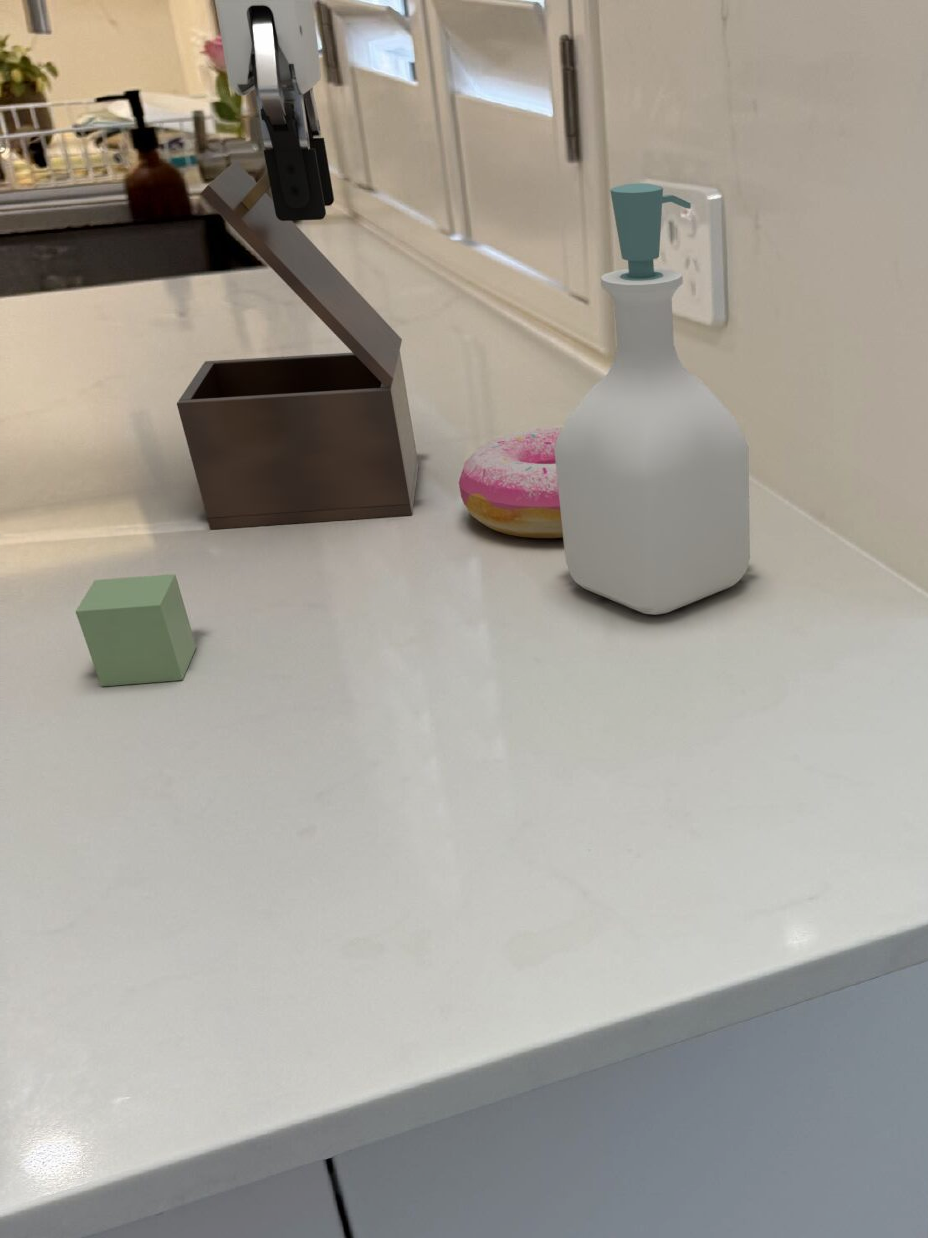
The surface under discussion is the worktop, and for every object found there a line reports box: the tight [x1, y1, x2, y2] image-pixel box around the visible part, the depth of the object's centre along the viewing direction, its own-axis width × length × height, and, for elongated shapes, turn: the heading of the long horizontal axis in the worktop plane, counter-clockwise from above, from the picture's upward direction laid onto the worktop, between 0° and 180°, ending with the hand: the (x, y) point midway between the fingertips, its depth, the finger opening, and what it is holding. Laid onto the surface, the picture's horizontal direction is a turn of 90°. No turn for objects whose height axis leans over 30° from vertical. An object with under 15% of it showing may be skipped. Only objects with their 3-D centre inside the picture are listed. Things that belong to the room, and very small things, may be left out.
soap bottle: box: [555, 182, 751, 616], centre depth 79 cm, size 10×10×23 cm
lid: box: [200, 160, 403, 387], centre depth 91 cm, size 15×12×6 cm
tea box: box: [176, 350, 420, 530], centre depth 99 cm, size 15×12×9 cm
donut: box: [458, 426, 563, 539], centre depth 95 cm, size 14×13×5 cm
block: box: [75, 573, 197, 687], centre depth 77 cm, size 5×5×5 cm
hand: (306, 209), depth 90 cm, fingers closed on lid, 5 cm apart
